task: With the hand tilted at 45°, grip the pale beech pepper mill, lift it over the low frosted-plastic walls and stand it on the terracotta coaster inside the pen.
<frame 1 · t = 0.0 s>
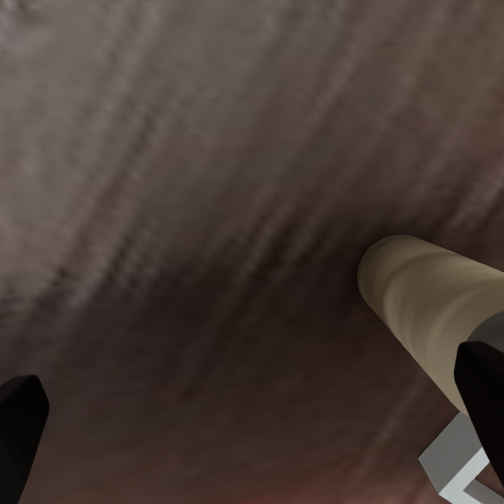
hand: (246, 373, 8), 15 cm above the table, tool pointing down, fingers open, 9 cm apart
pepper mill: (398, 275, 24), on the table
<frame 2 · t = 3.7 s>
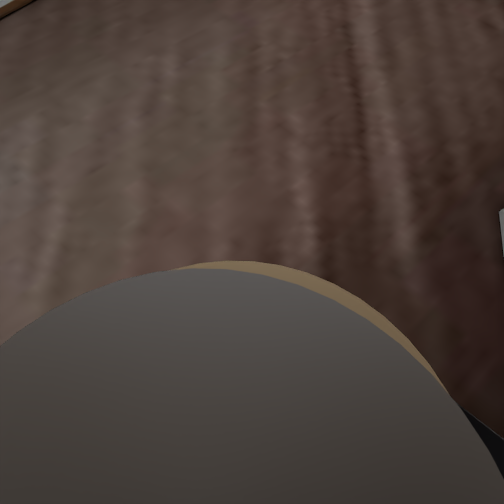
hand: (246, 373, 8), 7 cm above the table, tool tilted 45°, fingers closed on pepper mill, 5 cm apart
pepper mill: (261, 421, 14), on the table, touching gripper
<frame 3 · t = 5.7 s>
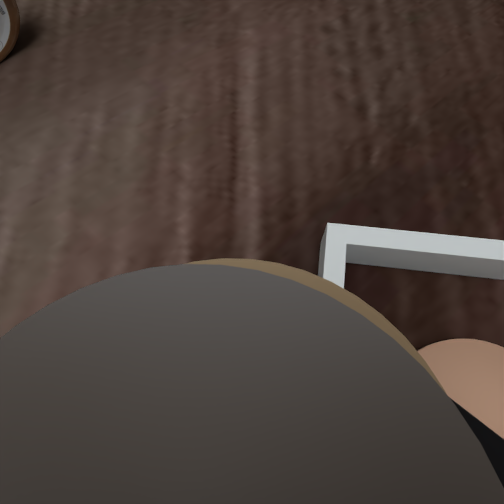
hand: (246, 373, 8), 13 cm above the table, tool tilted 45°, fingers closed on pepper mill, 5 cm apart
pen: (472, 434, 19), on the table
pepper mill: (260, 420, 14), point 6 cm above the table, touching gripper
when the fingers open (9 cm above the table, at t = 7.8 s): pepper mill drops 1 cm, resting on pen.
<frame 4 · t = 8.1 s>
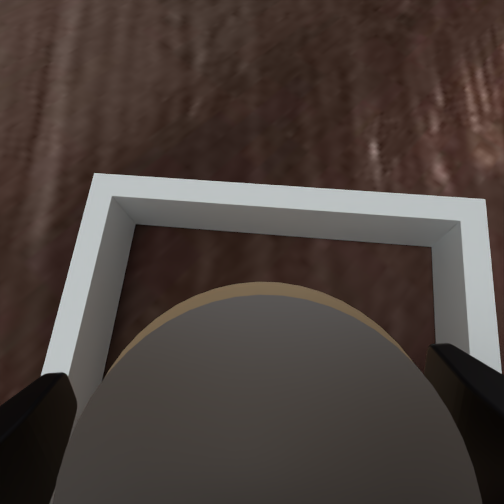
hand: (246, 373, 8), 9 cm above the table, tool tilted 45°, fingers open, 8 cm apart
pen: (262, 416, 16), on the table
pepper mill: (261, 420, 16), point 1 cm above the table, touching pen
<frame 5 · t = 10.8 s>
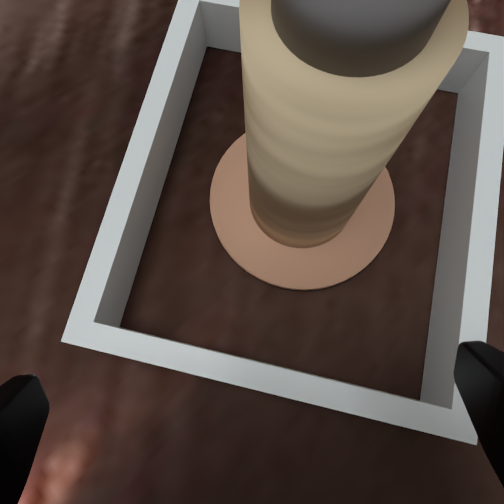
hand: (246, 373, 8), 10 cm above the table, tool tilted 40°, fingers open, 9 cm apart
pen: (300, 201, 20), on the table
pepper mill: (300, 198, 19), point 1 cm above the table, touching pen
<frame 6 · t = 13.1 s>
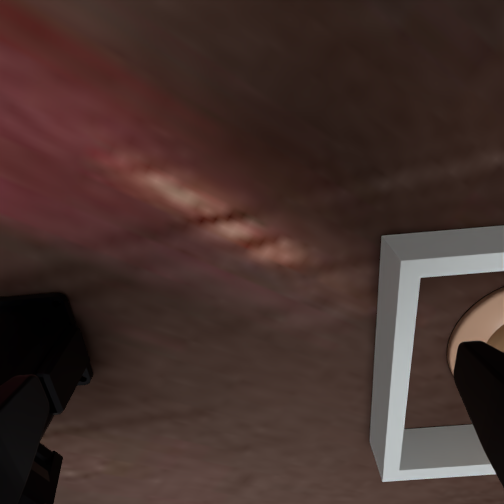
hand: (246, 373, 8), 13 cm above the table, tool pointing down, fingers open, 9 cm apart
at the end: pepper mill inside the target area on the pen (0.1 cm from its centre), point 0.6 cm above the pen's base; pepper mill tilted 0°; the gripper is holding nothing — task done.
